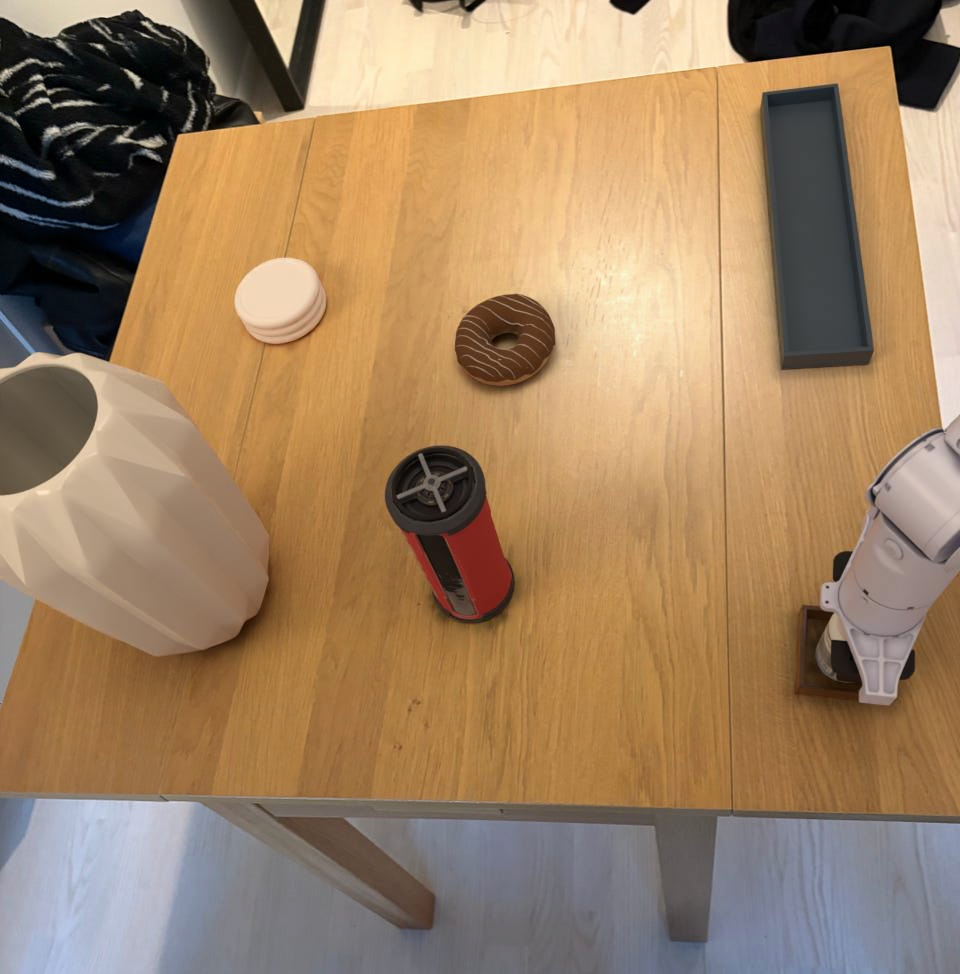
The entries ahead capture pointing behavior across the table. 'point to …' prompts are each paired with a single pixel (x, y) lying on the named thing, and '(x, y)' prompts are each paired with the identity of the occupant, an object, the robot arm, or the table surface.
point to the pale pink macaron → (280, 300)
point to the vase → (122, 508)
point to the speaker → (451, 531)
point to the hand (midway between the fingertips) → (850, 646)
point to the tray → (813, 231)
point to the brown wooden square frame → (801, 687)
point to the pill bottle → (829, 646)
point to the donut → (497, 319)
